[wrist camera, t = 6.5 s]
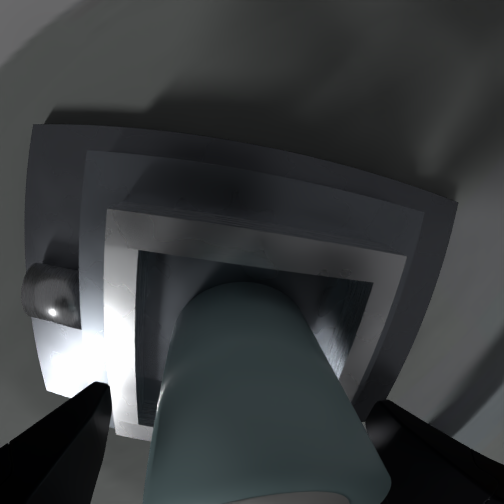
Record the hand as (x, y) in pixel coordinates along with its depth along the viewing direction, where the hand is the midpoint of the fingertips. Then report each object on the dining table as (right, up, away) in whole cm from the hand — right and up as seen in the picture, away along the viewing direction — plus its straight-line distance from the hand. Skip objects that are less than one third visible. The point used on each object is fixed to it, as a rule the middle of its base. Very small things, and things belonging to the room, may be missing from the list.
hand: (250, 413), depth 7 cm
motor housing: (-1, +2, +6) cm, 6 cm away
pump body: (0, +1, +3) cm, 4 cm away
